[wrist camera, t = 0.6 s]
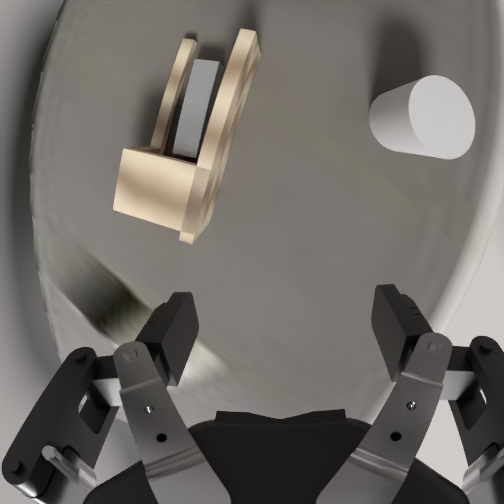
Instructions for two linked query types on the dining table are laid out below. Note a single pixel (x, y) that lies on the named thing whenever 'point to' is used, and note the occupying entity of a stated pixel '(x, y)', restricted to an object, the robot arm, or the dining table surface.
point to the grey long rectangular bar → (197, 107)
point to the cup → (424, 118)
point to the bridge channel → (182, 172)
